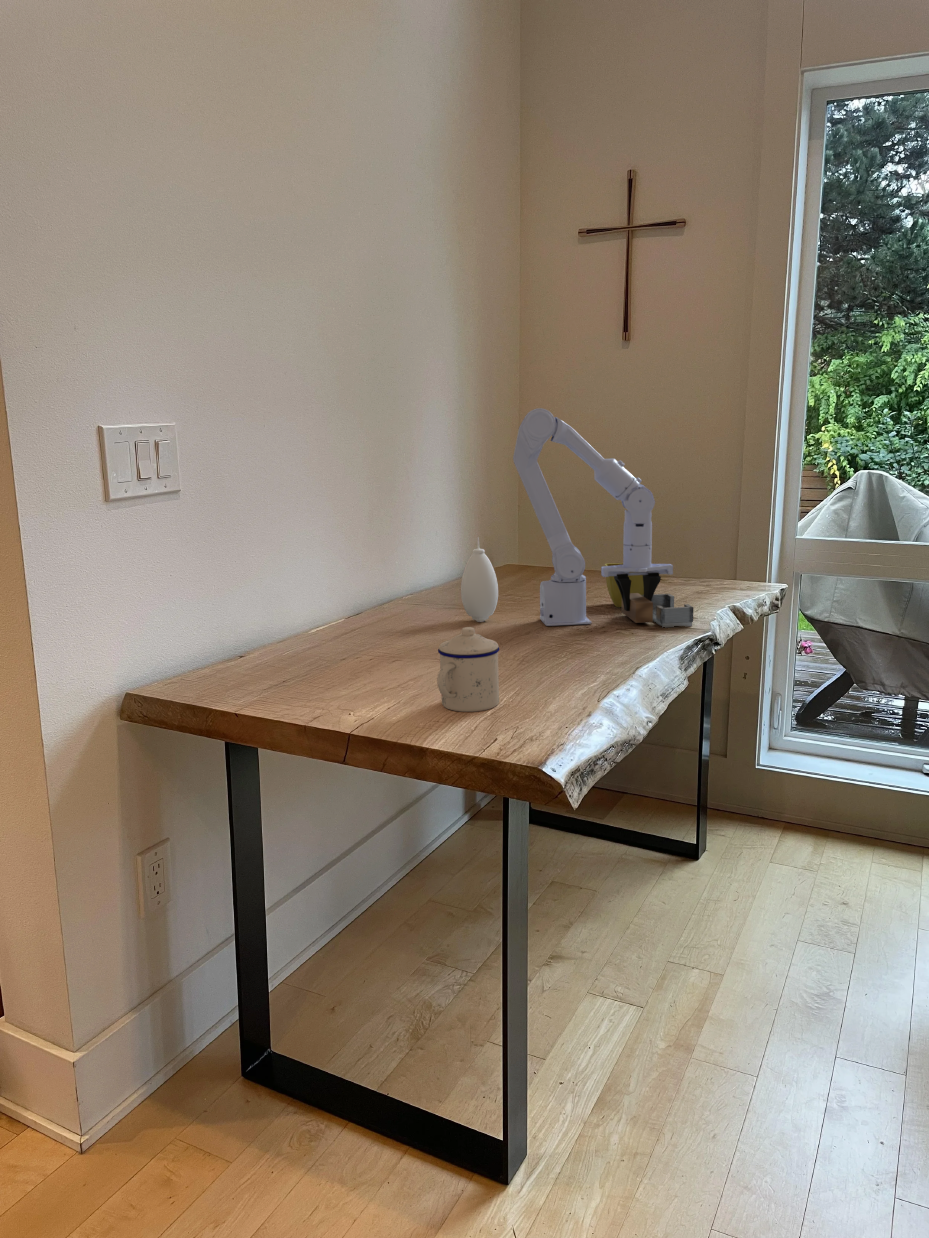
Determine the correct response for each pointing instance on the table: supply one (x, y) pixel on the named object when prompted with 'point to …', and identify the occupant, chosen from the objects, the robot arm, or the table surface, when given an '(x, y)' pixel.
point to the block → (639, 609)
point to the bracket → (670, 611)
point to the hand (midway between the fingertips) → (636, 609)
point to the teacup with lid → (468, 672)
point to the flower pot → (614, 590)
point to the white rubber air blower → (479, 586)
